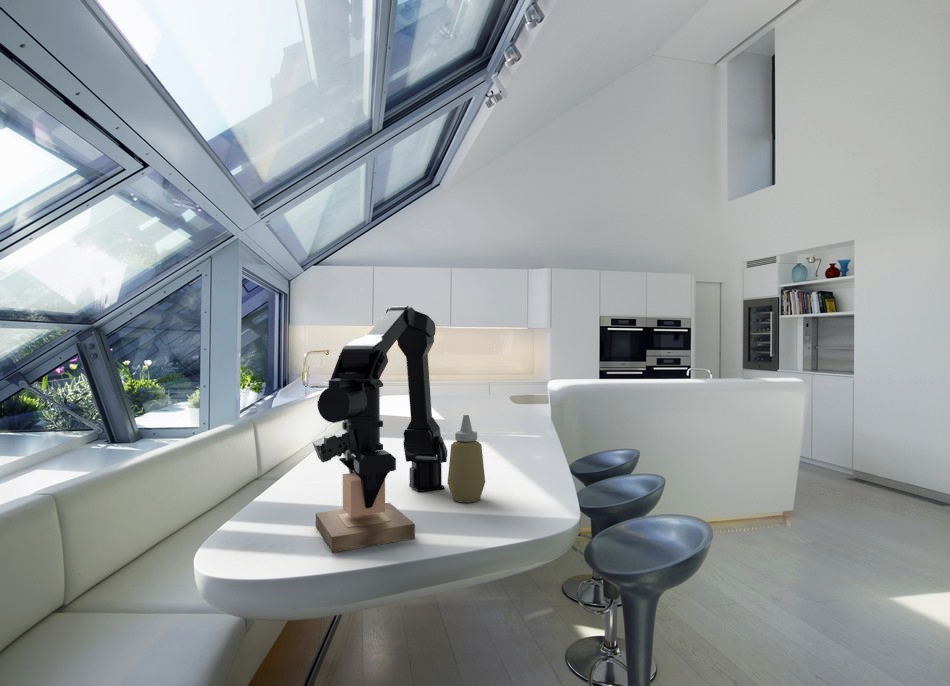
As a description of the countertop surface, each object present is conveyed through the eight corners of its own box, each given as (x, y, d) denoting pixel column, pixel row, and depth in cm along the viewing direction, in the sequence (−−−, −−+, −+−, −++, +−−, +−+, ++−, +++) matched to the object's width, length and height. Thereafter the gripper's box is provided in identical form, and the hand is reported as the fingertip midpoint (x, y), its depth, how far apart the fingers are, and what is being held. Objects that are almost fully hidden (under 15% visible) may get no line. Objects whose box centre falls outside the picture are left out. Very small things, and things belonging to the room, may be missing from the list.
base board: (389, 515, 106) (389, 501, 106) (414, 538, 93) (414, 522, 93) (315, 526, 100) (315, 512, 100) (332, 552, 87) (332, 536, 87)
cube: (375, 503, 101) (375, 470, 101) (385, 512, 95) (385, 477, 95) (342, 507, 98) (342, 474, 98) (350, 517, 92) (350, 481, 92)
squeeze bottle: (490, 496, 119) (489, 413, 119) (478, 506, 111) (478, 418, 112) (455, 493, 122) (455, 412, 122) (441, 503, 114) (441, 416, 114)
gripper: (307, 411, 101) (307, 495, 101) (327, 425, 85) (328, 525, 85) (366, 408, 106) (366, 488, 106) (396, 420, 90) (397, 515, 90)
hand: (363, 503), depth 97 cm, fingers closed on cube, 6 cm apart
